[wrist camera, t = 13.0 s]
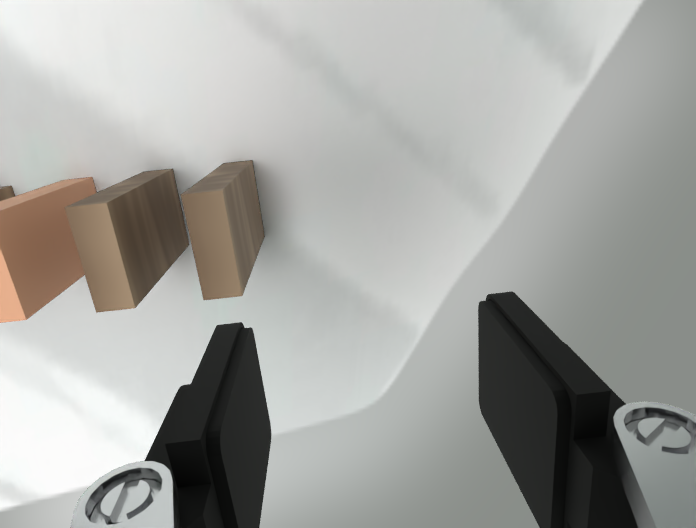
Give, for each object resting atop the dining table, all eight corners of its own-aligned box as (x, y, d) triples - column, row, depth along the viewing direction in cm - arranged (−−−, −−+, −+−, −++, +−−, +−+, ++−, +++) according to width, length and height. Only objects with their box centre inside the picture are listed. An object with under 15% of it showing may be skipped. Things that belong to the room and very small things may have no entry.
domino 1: (92, 176, 30) (-12, 214, 21) (113, 252, 32) (26, 319, 22) (63, 180, 30) (-55, 219, 20) (85, 255, 32) (-14, 324, 22)
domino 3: (252, 160, 30) (222, 190, 21) (264, 236, 32) (242, 295, 22) (223, 163, 30) (180, 194, 21) (237, 239, 32) (203, 300, 22)
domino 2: (172, 168, 30) (106, 202, 21) (189, 244, 32) (135, 307, 22) (143, 171, 30) (64, 207, 21) (162, 247, 32) (96, 312, 22)
